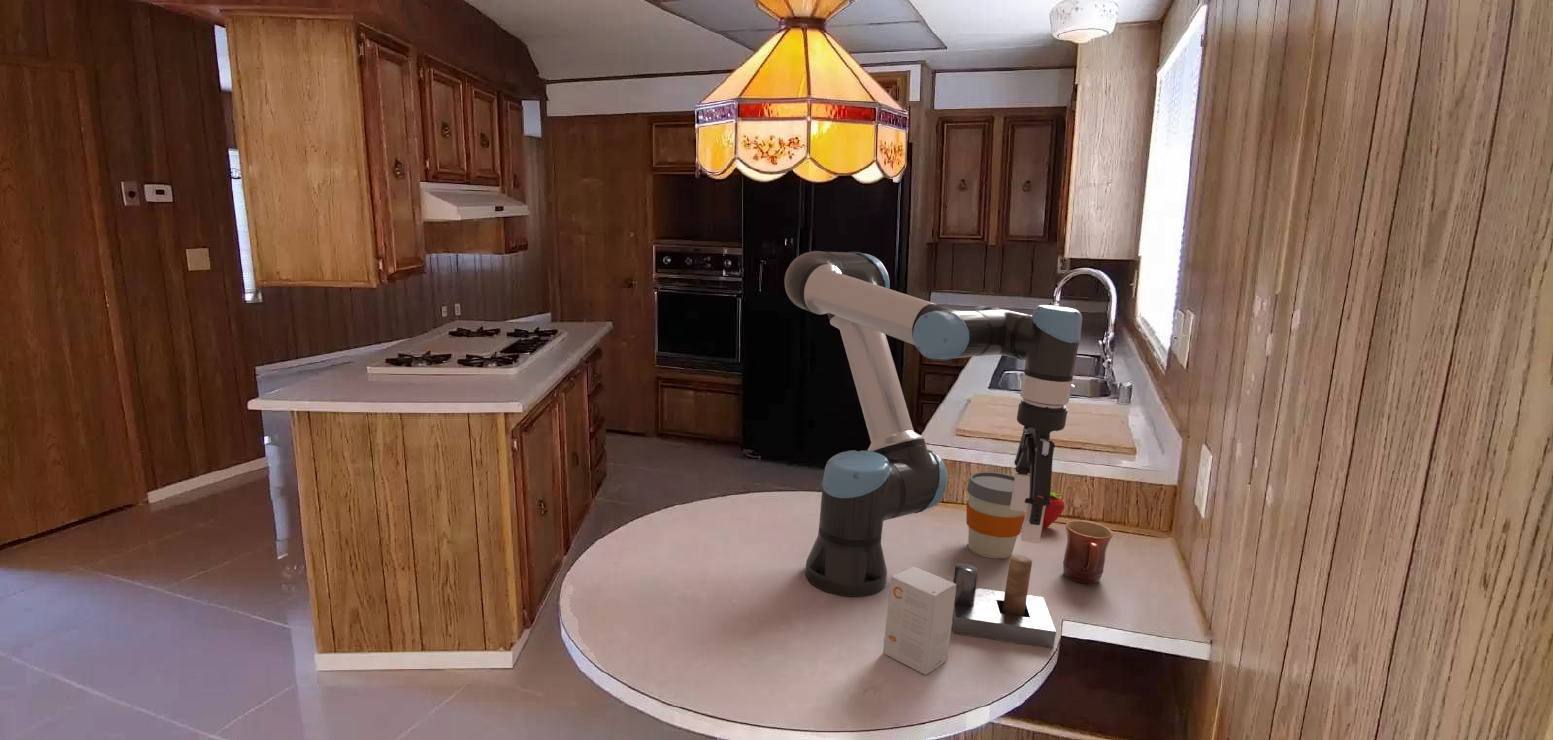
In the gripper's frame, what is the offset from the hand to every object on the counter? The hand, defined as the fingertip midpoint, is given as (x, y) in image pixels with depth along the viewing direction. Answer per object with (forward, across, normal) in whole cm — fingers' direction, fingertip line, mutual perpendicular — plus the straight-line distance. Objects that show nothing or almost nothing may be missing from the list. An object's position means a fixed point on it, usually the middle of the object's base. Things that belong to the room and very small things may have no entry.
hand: (1023, 525), depth 133 cm
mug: (+18, +22, -17) cm, 33 cm away
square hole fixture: (+18, 0, +2) cm, 18 cm away
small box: (+18, -16, +16) cm, 29 cm away
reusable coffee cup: (+19, +32, 0) cm, 37 cm away
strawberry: (+19, +49, -14) cm, 54 cm away
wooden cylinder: (+18, 0, -1) cm, 18 cm away
